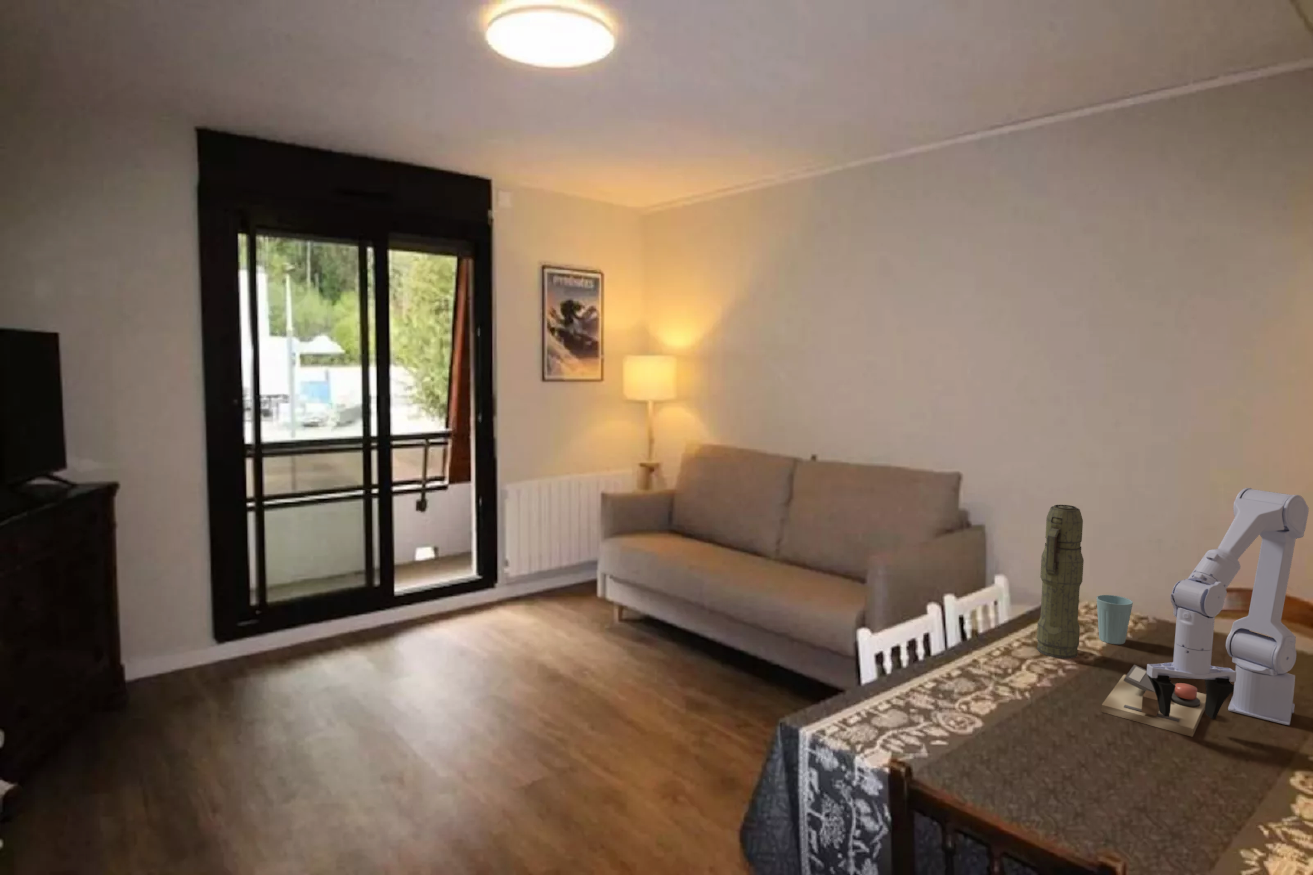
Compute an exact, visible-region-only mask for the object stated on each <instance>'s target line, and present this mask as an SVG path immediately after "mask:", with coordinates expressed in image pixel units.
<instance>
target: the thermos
mask: <svg viewBox="0 0 1313 875" xmlns="http://www.w3.org/2000/svg"><path fill="white" fill-rule="evenodd" d="M1083 524H1084V520H1083V516H1082V512H1081V509H1080V508H1079V507H1077V506H1074V505H1069V504H1055V505H1053V506H1051V507H1050V509H1049V510H1048V512H1047V515H1046V523H1045V540H1046V541H1045V544H1044V549H1043V551H1042V553H1041V560H1040V577H1039V578H1041V583H1042V585H1041V598H1040V599H1041V600H1040V602H1041V603H1040V617H1039V619H1038V621H1037V625H1036V626H1037V627H1036V629H1037V630H1036V641H1037V645H1036V651H1037V652H1039V653H1041V654H1042V655H1045V656H1047V657H1051V658H1054V659H1055V658H1057V659H1066V660H1067V659H1068V660H1070V659H1075V658H1077V657H1078V653H1079V652H1078V648H1079V646H1080V634H1081V633H1080V632H1081V628H1080V627H1081V626H1080V624H1079V620H1078V619H1079V606H1080V605H1079V604H1080V589H1081V588H1080V587H1081V585H1082V583H1083V576H1084V563H1085V562H1084V556H1083V552H1082V546H1081V543H1082V542H1083V528H1084V527H1083V526H1084V525H1083Z"/></svg>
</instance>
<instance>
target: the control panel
mask: <svg viewBox="0 0 1313 875" xmlns="http://www.w3.org/2000/svg"><path fill="white" fill-rule="evenodd" d="M1126 675H1127V674H1123V675H1122V676H1121V678H1120V679H1119V681H1118V682H1117V683H1116V684H1115V686H1114V687H1113V689H1112V690H1111V691H1110V693H1109V694H1108V695H1107V697H1106V698H1105V699H1104V701H1103V702H1102V703H1101V710H1100V711H1101V713H1104V714H1106V715H1107V714H1108V715H1110V716H1111V715H1112V716H1115V717H1118V718H1123V719H1126V720H1130V721H1134V722H1137V723H1139V724H1140V723H1141V724H1144V725H1147V726H1151V727H1155V728H1158V729H1162V730H1166V731H1169V732H1172V733H1173V732H1174V733H1176V734H1180V735H1185V736H1188V737H1191V738H1192V737H1194V735H1195V733H1196V730H1197V728H1198V726H1199V724H1200V721H1201V719H1202V716H1203V714H1204V712H1205V704H1206V693H1201V692H1198V691H1197V698H1196V699H1194V700H1190V699H1184V698H1181V697H1178V696H1176V695H1175V689H1174V691H1173V694H1172V698H1171V707H1170V715H1169V717H1167V716H1164V715H1163V714H1162V713H1160V712H1158V714H1157V716H1153V715H1150V714H1146V713H1142V698H1143V695H1144V693H1145V692H1146V691H1144V690H1141V689H1139V688H1137V687H1135V686H1133V685H1131V684H1129V683H1127V682H1125V681H1124V678H1125V677H1126ZM1173 684H1174V685H1175V684H1176V683H1173Z"/></svg>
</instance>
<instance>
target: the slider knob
mask: <svg viewBox="0 0 1313 875" xmlns="http://www.w3.org/2000/svg"><path fill="white" fill-rule="evenodd" d="M1158 712H1159V705H1158V700H1157V696H1156V693H1155V692H1151V691H1147V690H1146V692H1145V693H1144V695H1143V698H1142V713H1146V714H1150V715H1153V716H1157V714H1158Z"/></svg>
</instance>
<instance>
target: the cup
mask: <svg viewBox="0 0 1313 875" xmlns="http://www.w3.org/2000/svg"><path fill="white" fill-rule="evenodd" d="M1133 603H1134V602H1133V600H1131V599H1129V598H1128V597H1123V596H1120V595H1112V594H1099V595H1098V596H1096V610H1097V625H1098V639H1099V640H1100V641H1102V642H1104V643H1107V644H1110V645H1111V644H1112V645H1123V644H1125V643H1126V639H1127V634H1128V629H1129V624H1130V619H1131V614H1132V611H1133V610H1132V608H1133Z"/></svg>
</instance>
